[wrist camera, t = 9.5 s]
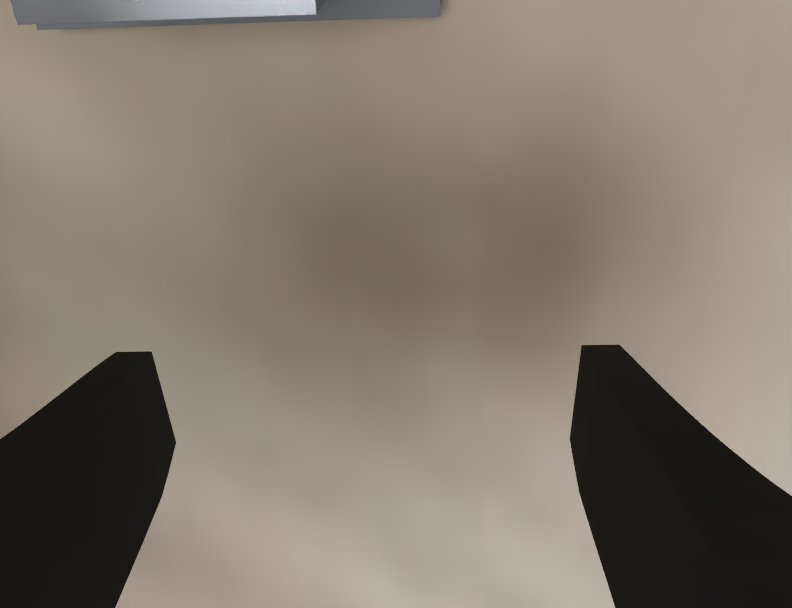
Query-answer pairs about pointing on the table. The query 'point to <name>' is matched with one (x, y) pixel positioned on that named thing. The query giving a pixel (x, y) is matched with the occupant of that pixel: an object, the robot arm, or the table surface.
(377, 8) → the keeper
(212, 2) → the link
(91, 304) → the table surface
